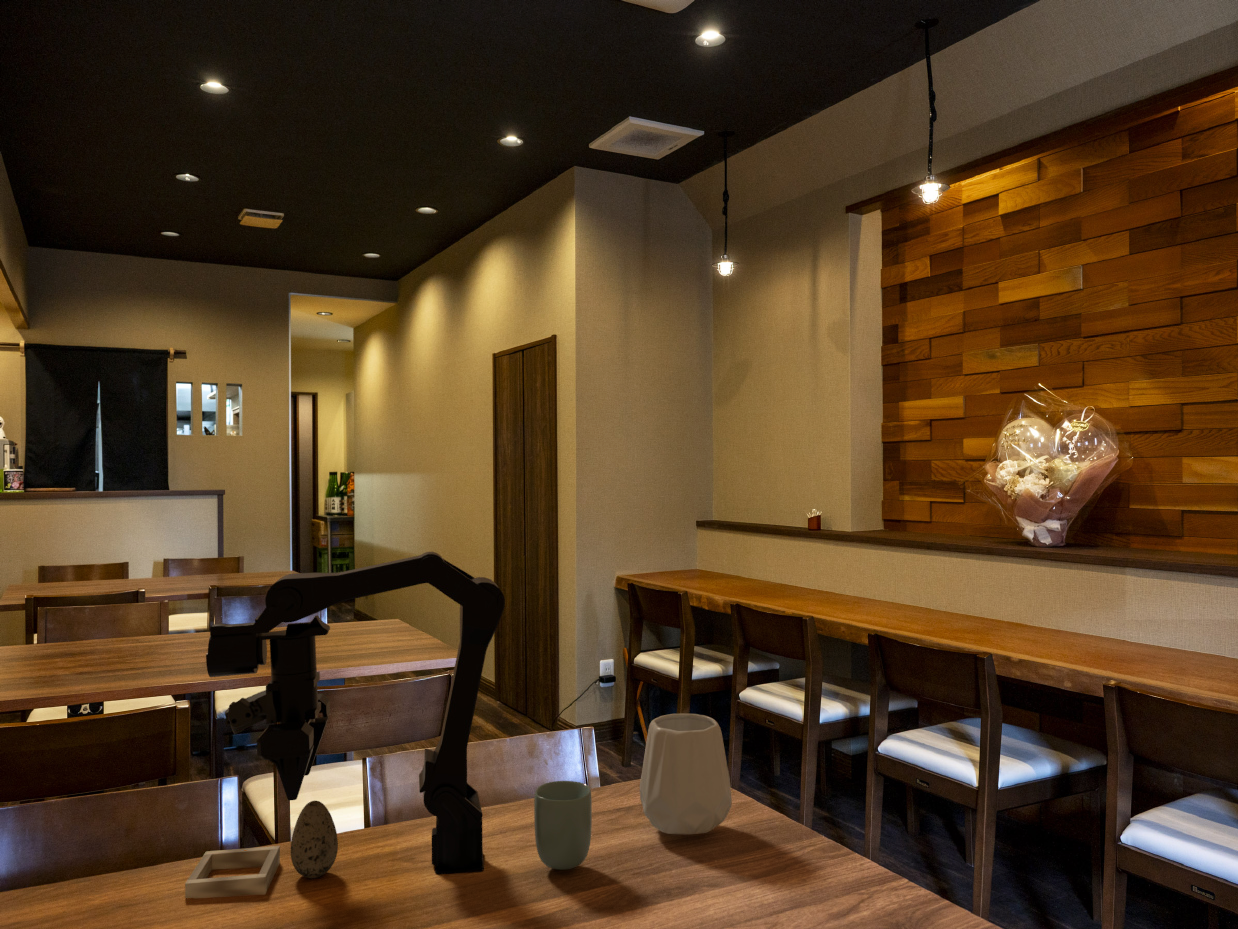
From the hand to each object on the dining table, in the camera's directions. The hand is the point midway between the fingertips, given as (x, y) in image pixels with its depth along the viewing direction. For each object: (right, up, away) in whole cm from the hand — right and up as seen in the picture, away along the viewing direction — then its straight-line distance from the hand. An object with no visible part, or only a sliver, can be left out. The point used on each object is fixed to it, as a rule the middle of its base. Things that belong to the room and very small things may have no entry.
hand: (298, 787), depth 119 cm
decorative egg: (+2, -12, 0) cm, 12 cm away
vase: (+53, -12, +18) cm, 57 cm away
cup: (+35, -12, +3) cm, 37 cm away
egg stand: (-8, -12, -2) cm, 14 cm away
